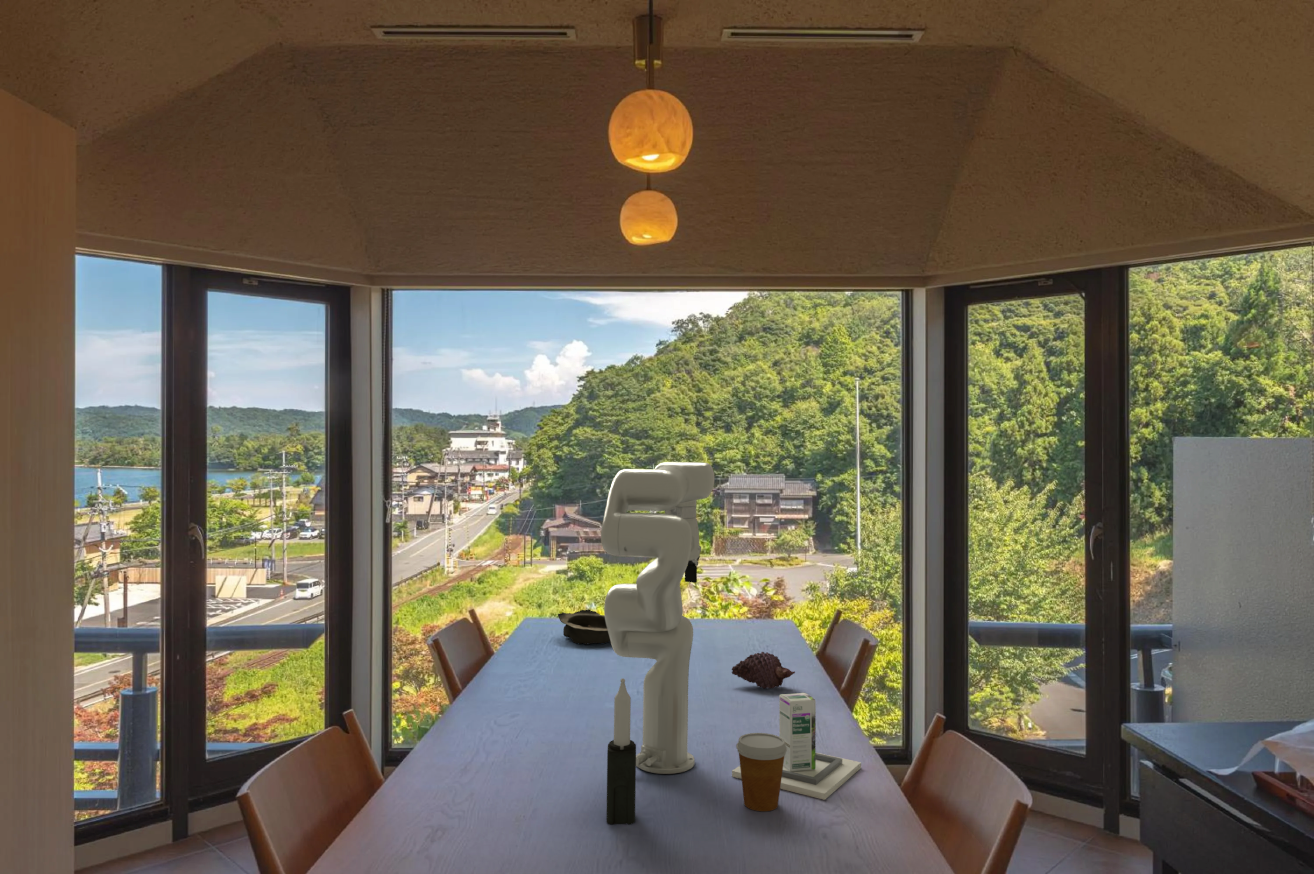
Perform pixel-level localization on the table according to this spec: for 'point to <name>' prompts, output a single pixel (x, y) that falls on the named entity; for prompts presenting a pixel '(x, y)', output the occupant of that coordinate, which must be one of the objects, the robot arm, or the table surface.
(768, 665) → the pine cone
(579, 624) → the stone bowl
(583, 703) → the table surface
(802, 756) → the syrup box
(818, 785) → the baseplate
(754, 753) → the disposable coffee cup
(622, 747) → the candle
